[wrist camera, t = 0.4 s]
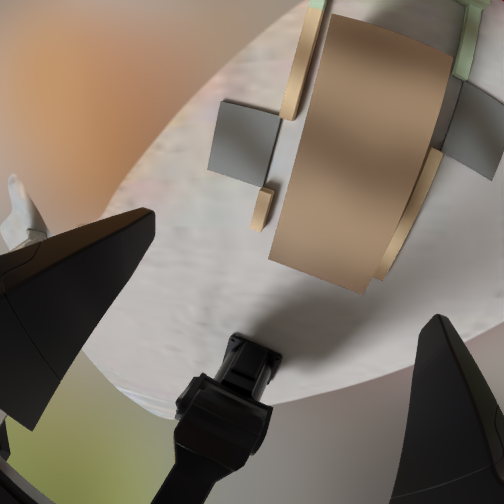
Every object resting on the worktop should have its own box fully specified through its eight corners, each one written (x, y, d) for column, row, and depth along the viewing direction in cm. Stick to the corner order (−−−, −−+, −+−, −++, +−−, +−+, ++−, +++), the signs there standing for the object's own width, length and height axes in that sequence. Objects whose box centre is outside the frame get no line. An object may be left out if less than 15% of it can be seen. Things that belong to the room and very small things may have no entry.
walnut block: (365, 236, 23) (362, 294, 16) (296, 210, 24) (268, 259, 18) (421, 71, 15) (453, 57, 9) (342, 43, 16) (331, 13, 10)
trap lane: (428, 294, 23) (432, 315, 20) (203, 204, 27) (186, 216, 24) (528, 38, 9) (546, 34, 7) (265, -59, 13) (252, -74, 10)
